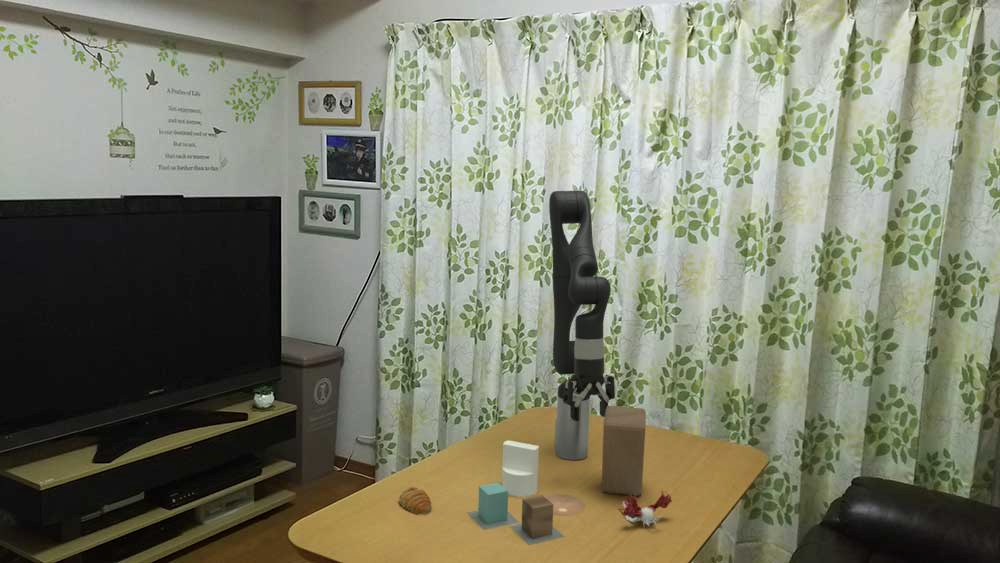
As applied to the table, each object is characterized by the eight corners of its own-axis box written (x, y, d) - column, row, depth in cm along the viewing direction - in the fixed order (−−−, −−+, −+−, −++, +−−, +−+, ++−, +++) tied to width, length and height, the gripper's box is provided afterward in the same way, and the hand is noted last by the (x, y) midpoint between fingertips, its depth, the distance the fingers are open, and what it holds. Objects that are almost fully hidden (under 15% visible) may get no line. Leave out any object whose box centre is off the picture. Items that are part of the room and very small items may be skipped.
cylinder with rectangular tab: (542, 487, 183) (544, 442, 182) (529, 501, 175) (530, 454, 173) (510, 480, 187) (511, 436, 185) (495, 493, 179) (497, 447, 177)
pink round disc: (530, 501, 175) (530, 498, 175) (568, 493, 180) (568, 491, 180) (553, 520, 165) (553, 518, 165) (593, 511, 170) (593, 509, 170)
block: (641, 497, 179) (645, 428, 172) (601, 493, 180) (603, 424, 174) (642, 474, 188) (646, 407, 181) (603, 470, 190) (606, 403, 183)
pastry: (438, 513, 168) (439, 498, 168) (412, 520, 165) (412, 504, 164) (421, 498, 176) (421, 483, 175) (395, 504, 172) (395, 489, 172)
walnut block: (521, 528, 160) (522, 499, 159) (540, 524, 163) (541, 495, 162) (532, 538, 156) (533, 508, 155) (552, 534, 158) (553, 504, 157)
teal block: (478, 514, 167) (478, 486, 166) (497, 510, 169) (498, 482, 168) (487, 524, 162) (488, 494, 161) (507, 519, 164) (508, 490, 163)
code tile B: (466, 514, 167) (466, 512, 167) (501, 507, 172) (501, 505, 171) (483, 531, 160) (483, 529, 159) (519, 523, 164) (519, 521, 164)
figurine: (649, 504, 175) (650, 478, 174) (683, 525, 165) (684, 497, 164) (599, 517, 168) (601, 490, 167) (632, 540, 158) (633, 511, 157)
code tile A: (509, 528, 161) (509, 526, 161) (544, 520, 165) (544, 518, 165) (528, 546, 153) (528, 544, 153) (564, 538, 157) (564, 536, 157)
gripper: (603, 350, 188) (603, 411, 189) (557, 355, 181) (557, 418, 182) (621, 355, 181) (621, 418, 182) (573, 360, 175) (574, 425, 176)
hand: (589, 418), depth 182 cm, fingers open, 8 cm apart
